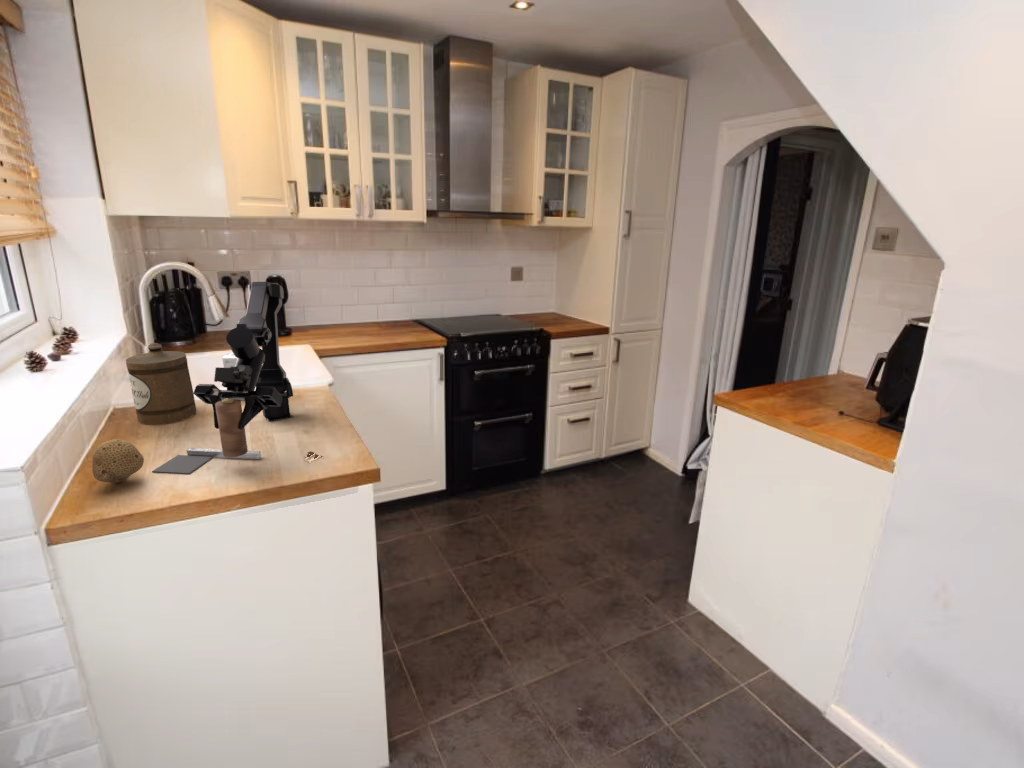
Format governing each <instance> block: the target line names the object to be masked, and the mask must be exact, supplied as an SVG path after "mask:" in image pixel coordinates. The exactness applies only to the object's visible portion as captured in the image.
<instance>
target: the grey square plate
mask: <svg viewBox="0 0 1024 768" xmlns="http://www.w3.org/2000/svg"><path fill="white" fill-rule="evenodd" d="M213 458H214V457H211V456H190V455H187V454H186V455H185V454H177V455H176V456H175V457H172V458H171V459H168V460H167V461H166V462H165V463H163V464H161V465H160V466H158V467H156V468H155V469H153V470H152V471H151V473H156V474H157V473H158V474H159V473H160V474H174V475H175V474H177V475H178V474H179V475H191V474H192V473H193V472H195V471H196V470H198V469H199V468H200V467H202V466H204V465H205V464H206V463H208V462H209V461H210V460H212V459H213ZM207 461H208V462H207ZM203 464H204V465H203ZM190 473H191V474H190Z"/></svg>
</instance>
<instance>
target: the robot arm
mask: <svg viewBox="0 0 1024 768" xmlns="http://www.w3.org/2000/svg"><path fill="white" fill-rule="evenodd" d="M247 287H248V288H247V289H248V302H247V307H246V312H245V315H244V316H243V317H241V318H240V319H239V320H238V322H237V323H236V326H235V327H234V328H232V329H231V330H230V331H229V332H227V335H226V337H225V340H226V343H227V345H228V347H229V348H230V350H231V351H232V354H234V355H235V357H237V360H236V363H235V366H234V367H230V368H224V367H215V368H214V369H215V371H214V378H213V382H215V383H216V382H218V383H221V386H222V387H223V388H226V389H220V388H219V387H218V386H217V385H215V384H214V383H213V384H212V383H209V384H208V383H199V384H197V385H196V386H195V387H194V389H193V394H194V396H196V397H197V398H198V399H199V400H200V401H202V402H203V403H204V404H207V405H212V409H213V410H212V411H213V412H212V413H213V423H214V424H213V425H214V428H215V429H217V430H219V426H218V420H217V413H216V407H215V403H217V402H218V401H221V400H224V399H228V398H232V399H245V400H244V407H243V409H242V416H241V419H240V422H239V426H238V428H239V429H240V430H242V429H243V428H246V427H247V426H248V424H249V423H250V422H251V421H253V419H254V418H255V417H257V415H258V414H260V413H261V412H262V415H263V417H264V418H265V419H266V420H267V421H268V422H273V421H278V420H279V421H280V420H284V419H290V418H292V417H293V414H292V413H291V411H290V404H289V402H290V400H289V399H290V398H291V397H294V391H293V386H292V383H291V382H290V379H289V378H288V377H287V372H286V371H285V369H284V368H283V366H282V365H281V363H280V347H279V329H278V313H279V311H280V309H281V308H282V307H283V299H285V295H284V293H285V292H284V288H283V286H282V285H280V284H279V283H278V282H268V281H252V282H249V284H248V286H247ZM260 347H261V348H260Z"/></svg>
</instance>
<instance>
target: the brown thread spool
mask: <svg viewBox="0 0 1024 768" xmlns="http://www.w3.org/2000/svg"><path fill="white" fill-rule="evenodd" d="M215 407H216V413H217V420H218V426H219V429H218V431H219V437H220V443H221V449H222V451H223V456H225V457H237V456H241V455H244V454H246V453H247V452H248V451H249V450H248V449H249V448H248V443H247V436H246V427H244V428H243V429H242V430H240V429H239V428H238V426H239V422H240V419H241V416H242V413H243V409H242V400H239V399H232V398H226V399H224V400H221V401H218V402H217V403H215Z"/></svg>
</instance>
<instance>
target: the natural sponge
mask: <svg viewBox="0 0 1024 768" xmlns="http://www.w3.org/2000/svg"><path fill="white" fill-rule="evenodd" d="M91 463H92V465H91V466H92V469H91V470H92V476H93V477H94V479H96V481H98V482H103V483H111V484H120V483H123V482H125V481H126V480H128V478H130V477H131V476H133V475H134V474H135V473H137V472H138V471H139V470H141V469H142V468H143V466H144V463H145V459H144V456H143V454H142V453H141V452H140V451H139V450H138V448H137V447H136V446H135V445H134V444H133V443H131V442H130V441H127V440H125V439H122V438H121V439H120V438H114V439H111V440H107V441H103V442H101V443H100V444H99V445H97V447H96V448H95V450H94V452H93V454H92V462H91Z"/></svg>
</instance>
